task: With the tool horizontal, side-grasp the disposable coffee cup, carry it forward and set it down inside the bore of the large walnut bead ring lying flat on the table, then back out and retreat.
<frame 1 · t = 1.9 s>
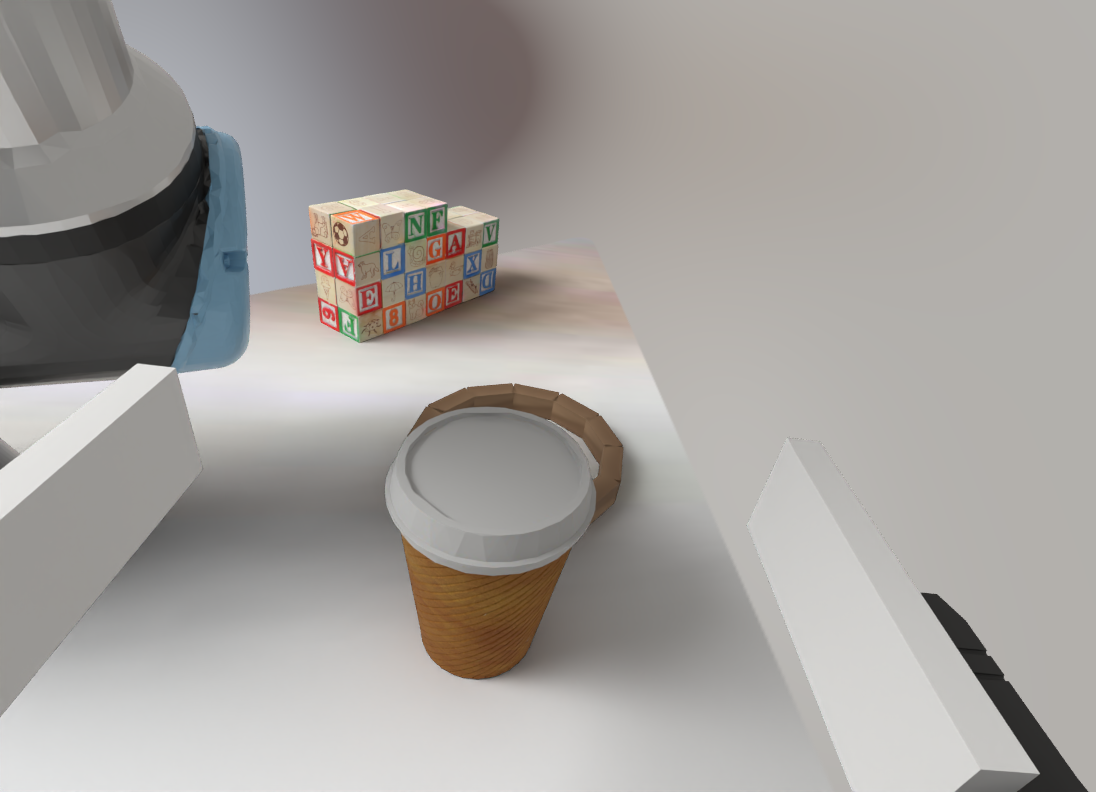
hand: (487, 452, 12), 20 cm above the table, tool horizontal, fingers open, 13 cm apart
disposable coffee cup: (477, 627, 31), on the table
stack of blocks: (416, 307, 64), on the table
walnut bead ring: (515, 461, 43), on the table
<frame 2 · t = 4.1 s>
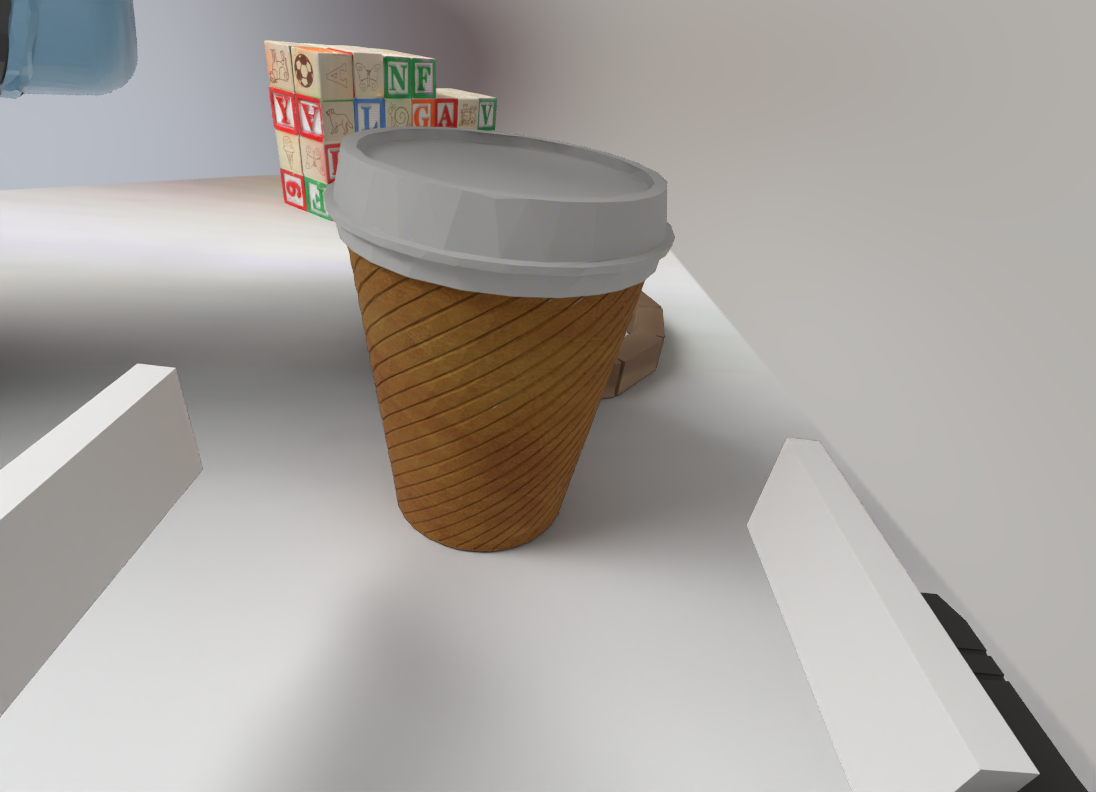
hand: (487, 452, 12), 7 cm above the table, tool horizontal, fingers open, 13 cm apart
disposable coffee cup: (480, 492, 21), on the table
stack of blocks: (400, 199, 55), on the table
walnut bead ring: (524, 328, 33), on the table
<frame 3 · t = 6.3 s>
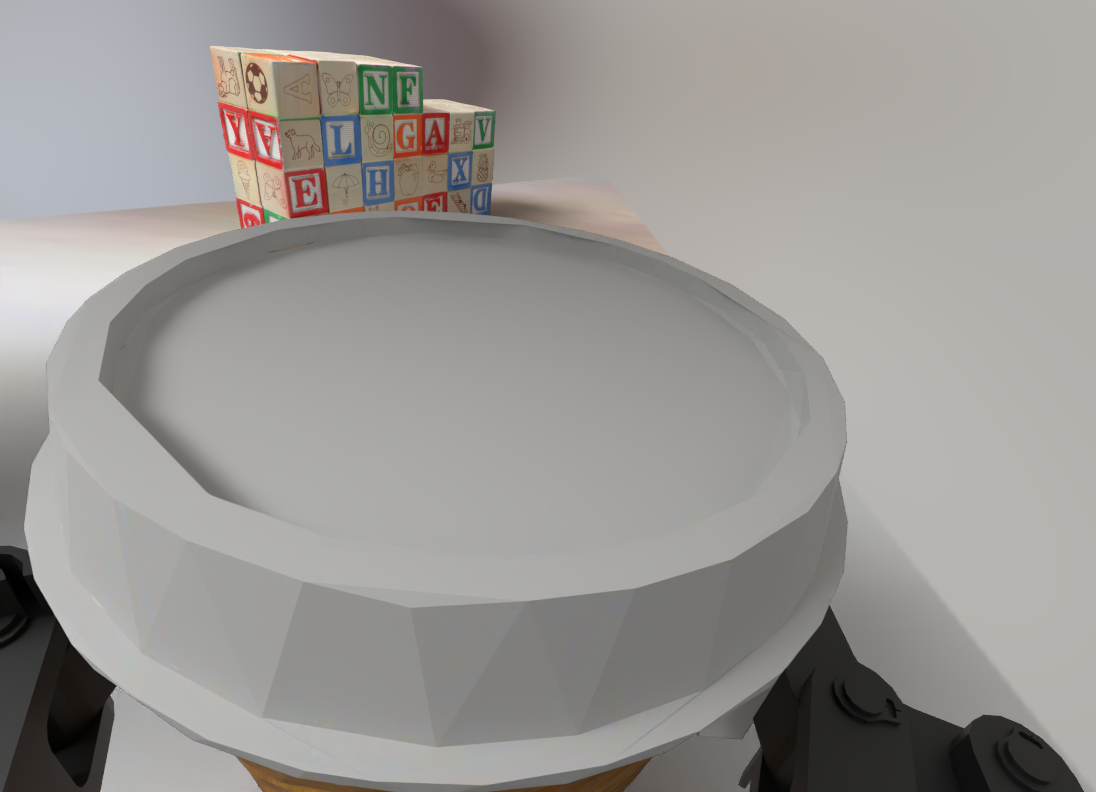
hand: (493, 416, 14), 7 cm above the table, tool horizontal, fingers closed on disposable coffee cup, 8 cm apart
disposable coffee cup: (453, 767, 13), on the table, touching gripper
stack of blocks: (383, 229, 47), on the table
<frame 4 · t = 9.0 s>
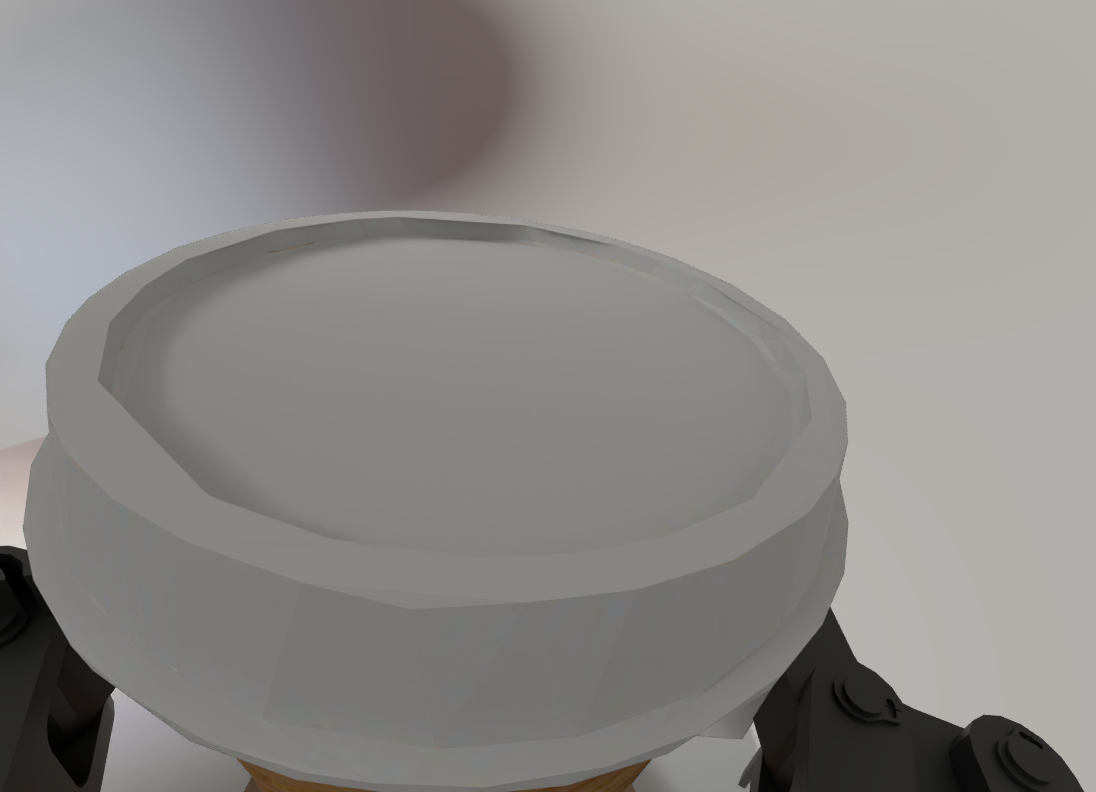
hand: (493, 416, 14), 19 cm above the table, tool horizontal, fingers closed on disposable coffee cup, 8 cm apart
disposable coffee cup: (453, 768, 13), point 12 cm above the table, touching gripper
when the fingers open (8 cm above the table, at t = 11.9 s): disposable coffee cup drops 1 cm, resting in walnut bead ring.
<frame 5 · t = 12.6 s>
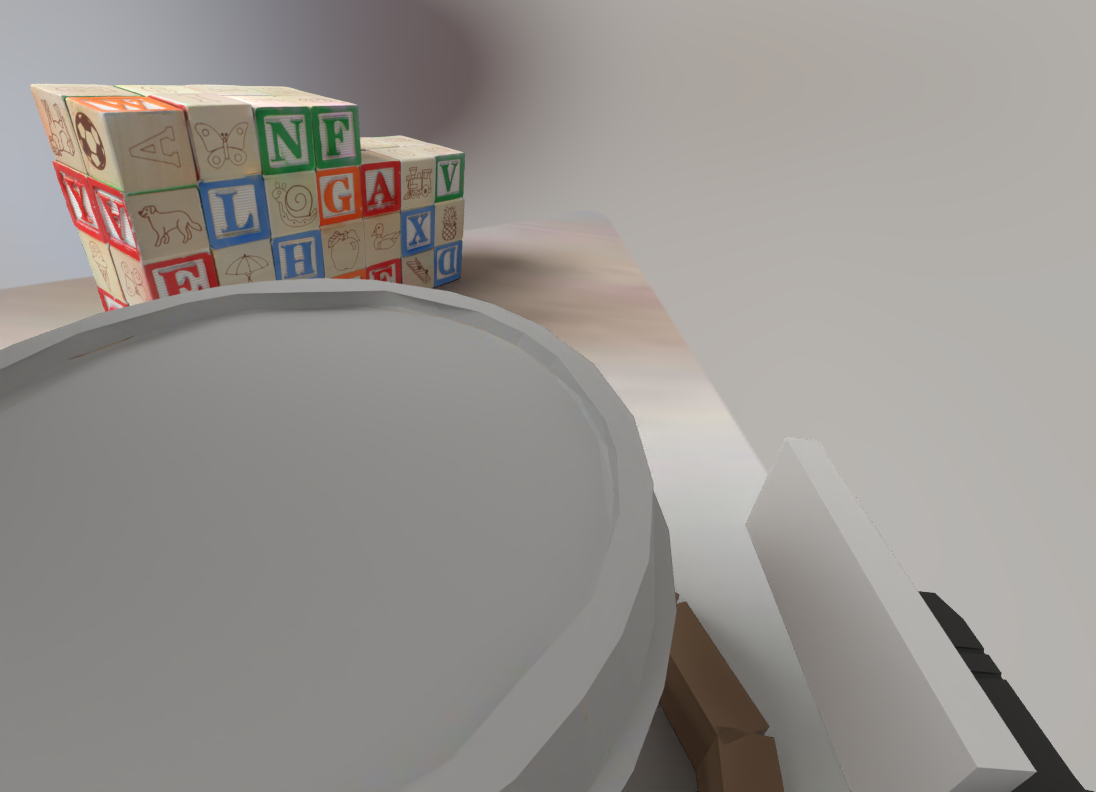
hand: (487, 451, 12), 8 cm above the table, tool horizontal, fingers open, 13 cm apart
stack of blocks: (318, 306, 37), on the table
walnut bead ring: (450, 787, 14), on the table
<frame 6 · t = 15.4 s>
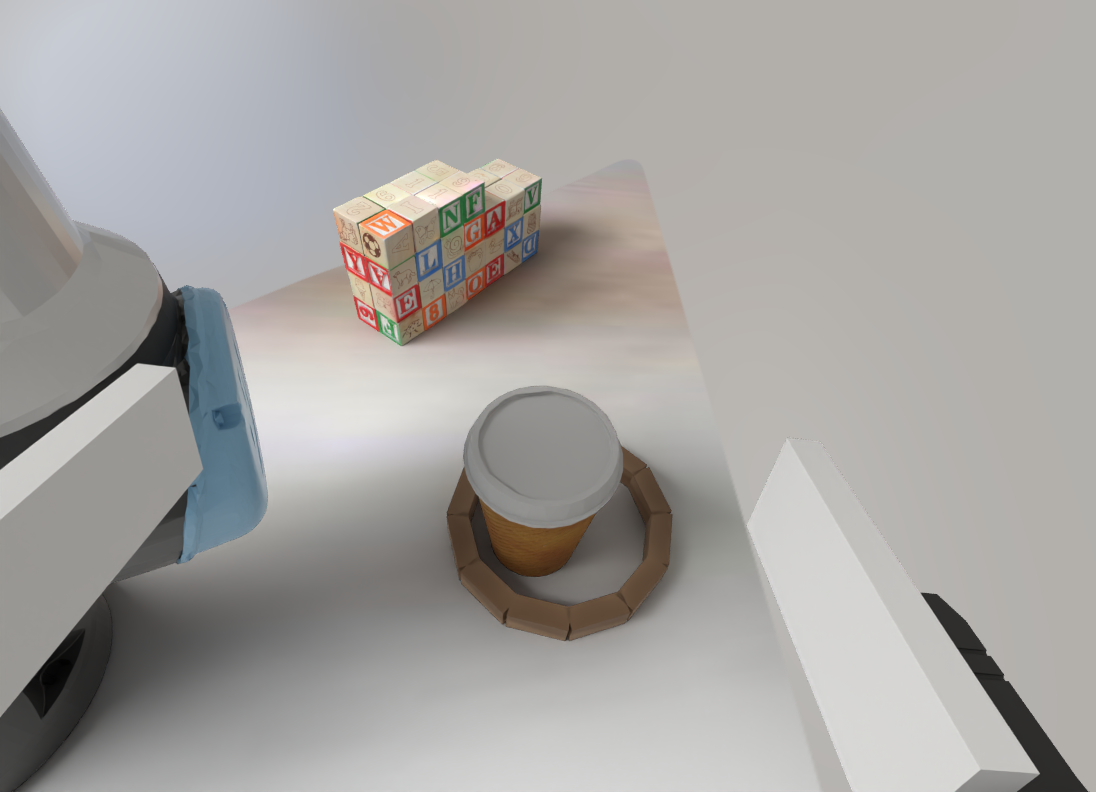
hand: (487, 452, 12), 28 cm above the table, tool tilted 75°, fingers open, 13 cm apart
disposable coffee cup: (532, 537, 41), resting in walnut bead ring
stack of blocks: (455, 285, 60), on the table
walnut bead ring: (558, 526, 42), on the table
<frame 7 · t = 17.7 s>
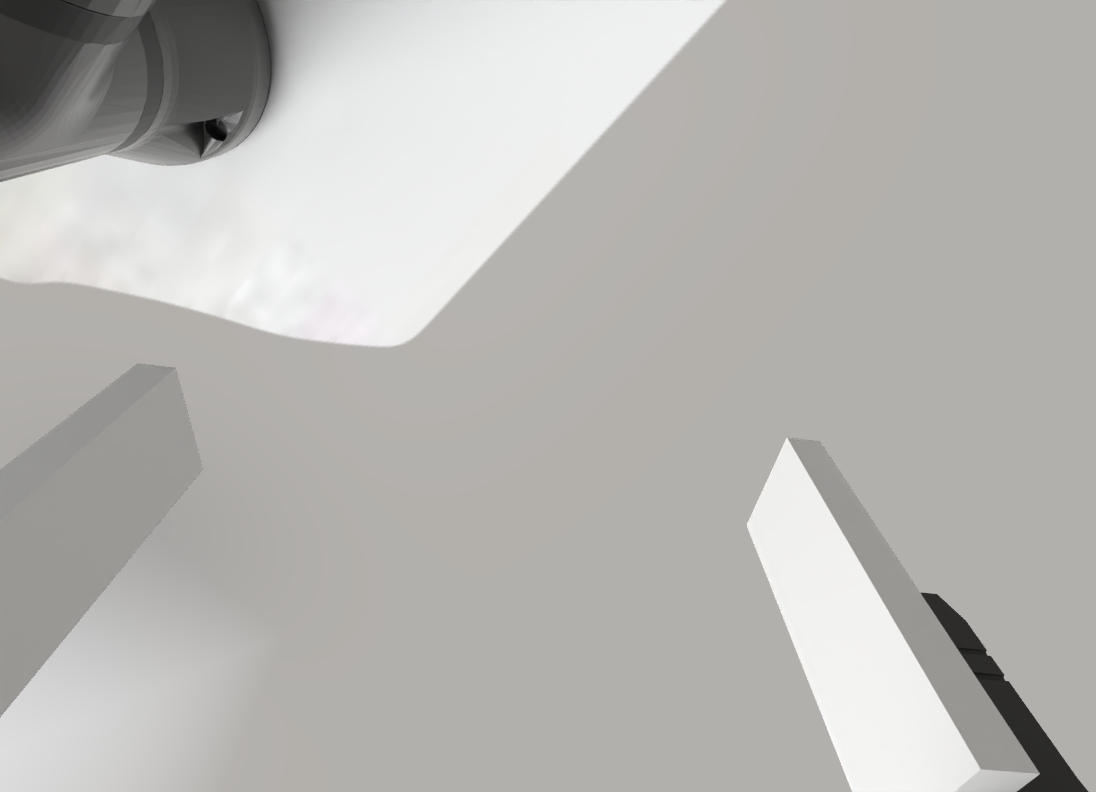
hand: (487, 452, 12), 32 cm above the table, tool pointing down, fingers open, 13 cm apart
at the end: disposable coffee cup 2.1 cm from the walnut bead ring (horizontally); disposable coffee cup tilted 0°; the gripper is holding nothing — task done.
